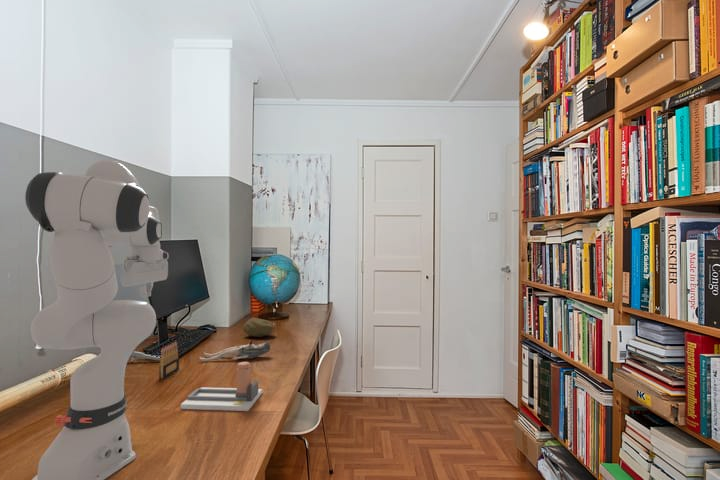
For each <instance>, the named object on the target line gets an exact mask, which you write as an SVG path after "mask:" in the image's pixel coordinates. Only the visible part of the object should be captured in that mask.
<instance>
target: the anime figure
mask: <svg viewBox="0 0 720 480" xmlns="http://www.w3.org/2000/svg"><path fill="white" fill-rule="evenodd" d="M270 351H271V346H270V342H269V341H265V342H263V343H260V344H255V343H254V341H253V340H251V341H250V342H249V343H248V344H244V345H243V344H242V345H237V346H231V347H227V348H224V349H223V350H221V351H218V352H215V353H212V354H211V353H207V352H205V350H204V351H203V354H204V355H205V357H206V358H205V357H201V356H199V360H200V361H202V363H205V362H209V361H218V360H220V359H221V358H222V357H224V356H231V357H232V358H231V361H236V360H239V359H240V360H250V359H254V358H257V357H260V356H264V355H266V354H267V353H269V352H270ZM235 356H236V357H235Z"/></svg>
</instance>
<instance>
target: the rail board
mask: <svg viewBox="0 0 720 480" xmlns="http://www.w3.org/2000/svg"><path fill="white" fill-rule="evenodd" d="M236 393H237V387H200V388H196V389H194V390H193V391H192V392H191V393H190V394H188V395H187V396H186V400H184V401H183V402H182V403H180V410H202V411H203V410H205V411H231V412H232V411H237V412H239V411H240V412H241V411H242V412H249V411H250V410H251V408H252V407H253V406H254V404H255V403H256V401H258V400H259V398H260V397H261V395H262V394H263V388H259V381H256V380H255V381H252V382H251V385H250V386H249V387H248V388H247V397H236Z"/></svg>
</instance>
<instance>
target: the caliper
mask: <svg viewBox="0 0 720 480" xmlns="http://www.w3.org/2000/svg"><path fill="white" fill-rule="evenodd" d="M151 355H152V354H145V352H140V351H135V350H134V351H133V352H132V354H131V355H130V357H129V359H128V361H127V363H129V362H132V363H133V362H134V361H135V359H137V360H143V359H148V360H153V361H157V362H158V361H159V362H160V359H161V358H160V357H161V356H158V357H156V356H157V355H153V356H151Z"/></svg>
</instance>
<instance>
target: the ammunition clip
mask: <svg viewBox="0 0 720 480" xmlns="http://www.w3.org/2000/svg"><path fill="white" fill-rule="evenodd" d="M178 351H179V350H178V343H177V341H174V342H172V343H170V344H169V345H167V346H164V347H162V348H161V351H160V357H161V359H160V361H159V362H160V365H159V373H158V375H159V376H158V377H159V380H165V379H167V378H168V377H170V376H171V375H173V374H175V373H176V372H177V370H178V371H179V370H180V362H179V361H180V360H179V359H180V358H179V354H178V353H179V352H178ZM174 372H175V373H174ZM169 375H170V376H169ZM166 377H167V378H166ZM164 378H165V379H164Z"/></svg>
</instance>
